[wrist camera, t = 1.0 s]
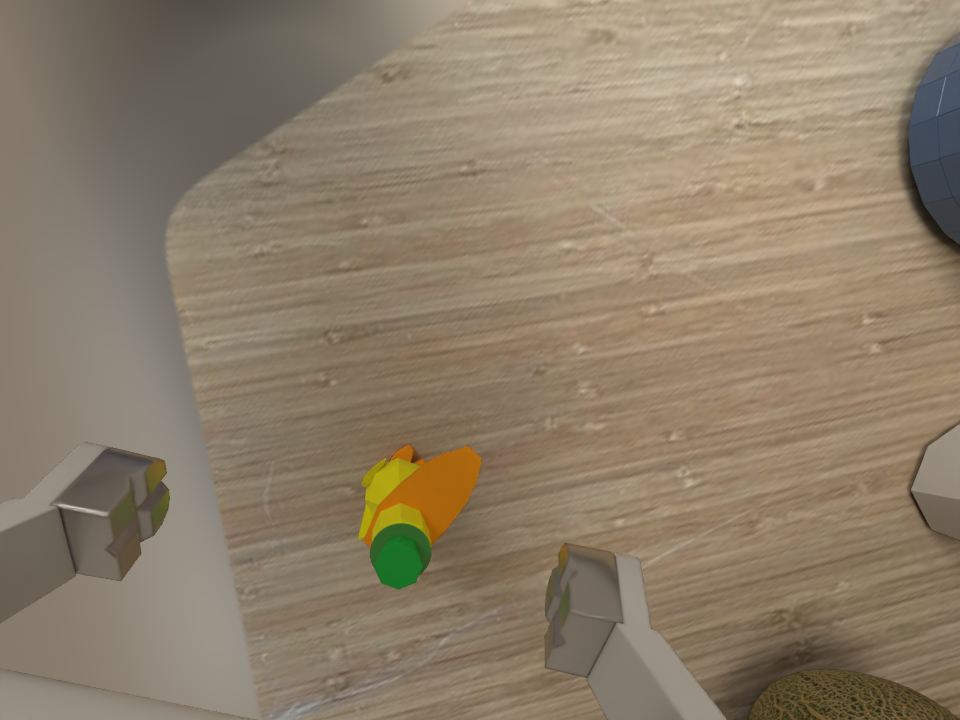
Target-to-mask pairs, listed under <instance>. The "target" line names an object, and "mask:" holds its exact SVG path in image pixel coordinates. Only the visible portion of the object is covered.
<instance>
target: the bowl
mask: <svg viewBox="0 0 960 720" xmlns="http://www.w3.org/2000/svg"><path fill="white" fill-rule="evenodd" d="M908 133H909V150H910V167H911V170H912V173H913V176H914V179H915V182H916V184H917V187H918V190H919V193H920V196H921V199H922V202H923V204H924V206H925V207H926V209H927V210H928V212H929V213H930V214H931V216H932V217H933V218H934V220H935V221H936V223H937V224H938V225H939V227H940V228H941V229H942V231H943V232H944V233H945V235H947V236H948V237H950V238H951V239H952V240H954V241H955V242H957V243H958V244H960V32H959V33H958V34H957V35H956V36H955V37H954V38H953V39H952V40H951V41H949V42H948V43H947V44H946V45H945V46H944V47H943V48H942V49H941V50H940V51H939V52H938V53H937V54H936V56H935V57H934V59H933V61H932V62H931V64H930V66H929V68H928V70H927V72H926V73H925V75H924V77H923V79H922V81H921V83H920V84H919V86H918V89H917V91H916V95H915V100H914V104H913V109H912V113H911V118H910V123H909V128H908Z"/></svg>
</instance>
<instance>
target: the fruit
mask: <svg viewBox="0 0 960 720" xmlns="http://www.w3.org/2000/svg"><path fill="white" fill-rule="evenodd" d="M748 720H960V719H959V718H958V717H957V716H955V715H954V714H952V713H951V712H950V711H948V710H947V709H946V708H944V707H942V706H941V705H939V704H938V703H936V702H934V701H933V700H931V699H929V698H927V697H926V696H924V695H922V694H920V693H918V692H916V691H914V690H912V689H910V688H908V687H905V686H903V685H900V684H898V683H895V682H892V681H889V680H886V679H883V678H879V677H876V676H872V675H868V674H863V673H858V672H851V671H843V670H835V669H818V670H808V671H802V672H798V673H794V674H792V675H789V676H786V677H783V678H781V679H779V680H777V681H775V682H773V683H772V684H770V685H769V686H768V687H767V688H766V689H765V690H764V691H763V692H762V694H761V695H760V696H759V698H758V699H757V700H756V701H755V703H754V705H753V707H752V709H751V712H750V715H749V718H748Z"/></svg>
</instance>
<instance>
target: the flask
mask: <svg viewBox="0 0 960 720" xmlns="http://www.w3.org/2000/svg"><path fill="white" fill-rule="evenodd" d="M911 492H912V493H913V495H914V497H915V499H916V501H917V503H918V505H919V507H920V509H921V511H922V513H923V515H924V517H925V519H926V520H927V522H928V524H929V526H930V528H931V529H932V530H935V531H937V532H940V533H942V534H945V535H947V536H950V537H953V538H955V539H958V540H960V424H959V425H957V426H956V427H955V428H953V429H952V430H950V431H949V432H948V433H946V434H945V435H943V436H942V437H940V438H939V439H938V440H936V441H935V442H933V443H932V444H931V445H929V446H928V448H927V450H926V453H925V455H924V458H923V461H922V463H921V466H920V468H919V471H918V473H917V476H916V479H915V481H914V484H913V486H912V489H911Z"/></svg>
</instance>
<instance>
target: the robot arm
mask: <svg viewBox="0 0 960 720" xmlns="http://www.w3.org/2000/svg"><path fill="white" fill-rule="evenodd" d="M166 473H167V471H166V465H165V461H164V460H162V459H159V458H155V457H150V456H146V455H142V454H138V453H133V452H129V451H125V450H120V449H116V448H110V447H107V446H102V445H98V444H93V443H89V442H85V443H83V444H80V445H78V446H77V447H76V448H74V449H73V451H71V452H70V453H69V454H68V455H67V456H66V457H65V458H64V459H63V460H62V461H61V462H60V463H59V464H58V465H57V466H56V467H55V468H54V469H53V470H52V471H51V472H50V473H49V474H48V475H47V476H46V477H45V478H43V480H41V481H40V482H39V483H38V484H37V485H36V486H35V487H34V488H33V489H32V490H31V491H30V492H29V493H28V494H27V495H26V496H25V497H24V498H23V499H15V498H13V499H11V500H8V501H6V502H3V503H0V623H1V622H3V621H5V620H6V619H8V618H9V617H11V616H13V615H14V614H16V613H17V612H19V611H20V610H22V609H24V608H25V607H27V606H29V605H30V604H32V603H34V602H35V601H37V600H38V599H40V598H42V597H43V596H45V595H46V594H48V593H50V592H51V591H53V590H54V589H56V588H58V587H59V586H61V585H62V584H64V583H66V582H67V581H69V580H70V579H72V578H74V577H75V576H76V573H77V574H82V575H88V576H93V577H100V578H105V579H111V580H116V581H122V579H123V578H124V577H125V575H126V574H127V572H128V571H129V570H130V568H131V567H132V566H133V564H134V562H135V561H136V560H137V559H138V557H139V556H140V555H141V547H140V542H142V541H144V540H146V539H148V538H150V537H152V536H154V535H155V533H156V532H157V531H158V529H159V528H160V526H161V525H162V523H163V521H164V518H165V516H166V513H167V511H168V507H169V500H170V496H169V489H168V488H167V487H166V486H165V485H164V483H163V482H162V481H161V480H162V479H163V477H164V476H165V475H166ZM558 557H559V566H558V567H556V568H554V569H553V570H552V573H551V576H550V578H549V582H548V587H547V591H546V600H545V617H546V618H547V620H548V621H549V623H550V625H549V628H548V630H547V632H546V635H545V668H547V669H551V670H555V671H560V672H564V673H568V674H572V675H577V676H581V677H585V678H587V682H588V684H589V686H590V688H591V690H592V691H593V693H594V695H595V697H596V699H597V701H598V703H599V705H600V707H601V709H602V711H603V713H604V714H605V716H606V718H607V720H727V719H726V718H725V716H724V715H723V714H722V712H721V711H720V710H719V709H718V707H717V706H716V705H715V703H714V702H713V701H712V699H711V698H710V697H709V696H708V694H707V693H706V692H705V690H704V689H703V688H702V686H701V685H700V684H699V683H698V681H697V680H696V679H695V677H694V676H693V675H692V673H691V672H690V671H689V670H688V668H687V667H686V666H685V664H684V663H683V662H682V660H681V659H680V658H679V657H678V655H677V654H676V653H675V651H674V650H673V649H672V647H671V646H670V645H669V644H668V642H667V641H666V640H665V638H664V637H663V636H662V634H661V633H660V632H659V631H655V630H652V627H651V621H650V615H649V609H648V604H647V598H646V592H645V586H644V580H643V574H642V568H641V562H640V561H639V559H638V558H637V557H633V556H628V555H623V554H618V553H612V552H609V551H604V550H599V549H594V548H589V547H584V546H579V545H573V544H568V543H564V545H563V546H562V548H561V550H560V552H559V555H558ZM0 720H255V719H250V718H245V717H240V716H235V715H230V714H225V713H220V712H215V711H210V710H205V709H200V708H195V707H190V706H185V705H180V704H175V703H170V702H165V701H160V700H155V699H150V698H145V697H140V696H135V695H130V694H125V693H120V692H115V691H110V690H105V689H100V688H95V687H90V686H85V685H80V684H75V683H70V682H66V681H61V680H55V679H50V678H46V677H41V676H35V675H31V674H26V673H21V672H16V671H11V670H6V669H0Z"/></svg>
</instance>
